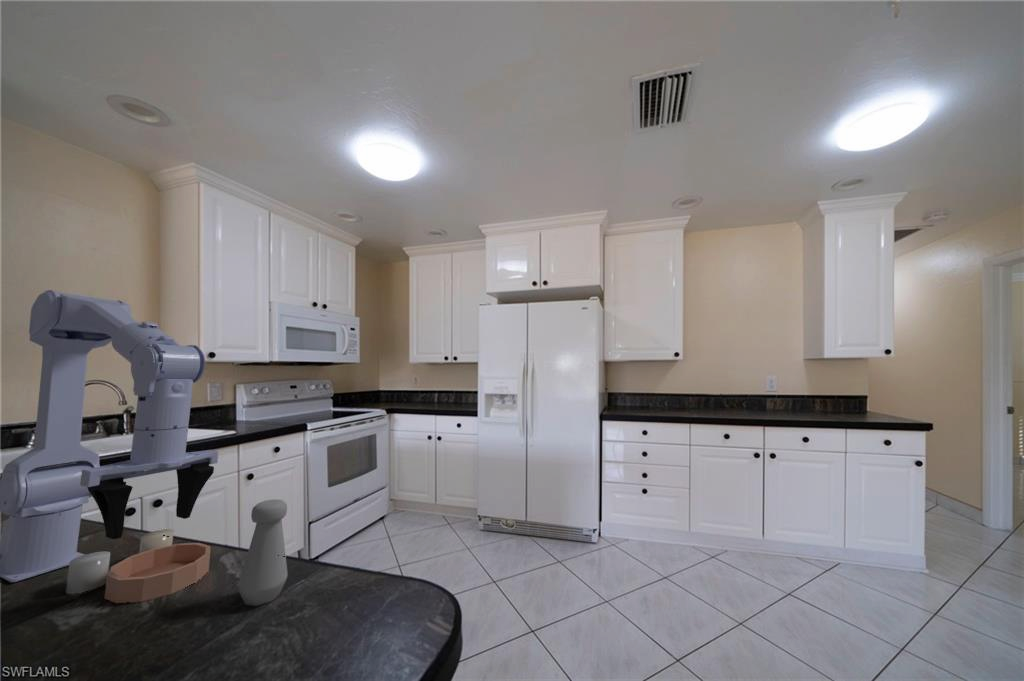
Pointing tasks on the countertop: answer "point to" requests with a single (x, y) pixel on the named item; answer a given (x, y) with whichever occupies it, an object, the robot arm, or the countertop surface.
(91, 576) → the pebble
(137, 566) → the bowl
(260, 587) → the salt shaker
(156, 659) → the countertop surface
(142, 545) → the pebble
